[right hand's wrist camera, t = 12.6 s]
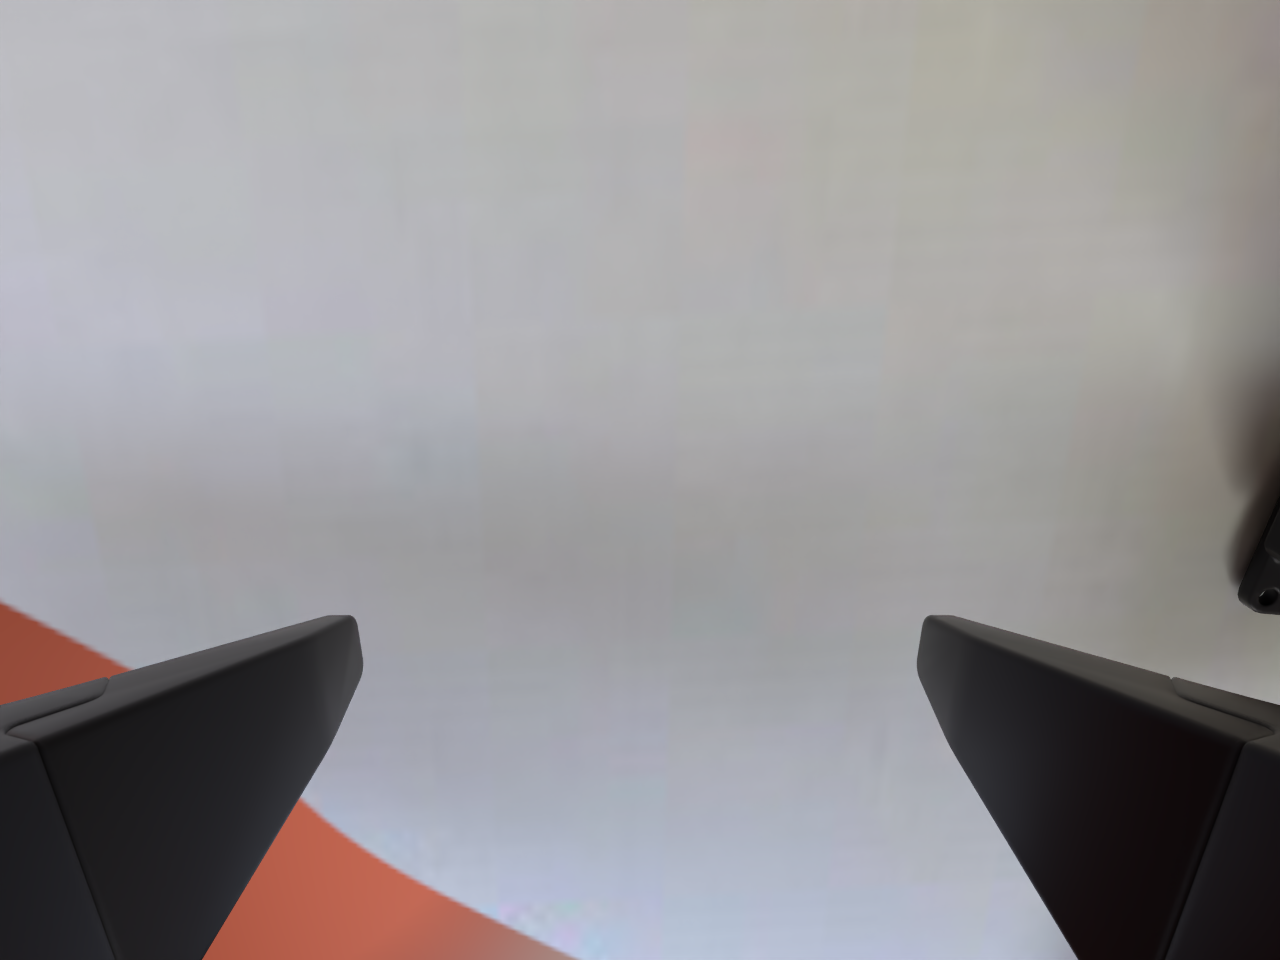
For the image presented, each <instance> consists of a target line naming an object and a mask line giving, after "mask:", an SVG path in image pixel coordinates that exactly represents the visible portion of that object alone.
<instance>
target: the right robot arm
mask: <svg viewBox="0 0 1280 960" xmlns="http://www.w3.org/2000/svg"><path fill="white" fill-rule="evenodd" d="M1264 591H1265V592H1264ZM1262 592H1264V594H1263V595H1261V593H1262ZM1260 595H1261V596H1260ZM1259 596H1260V597H1259ZM1238 598H1239V600H1240V601H1241V602H1242V603H1243V604H1244V605H1246V606H1247V607H1249V608H1250V609H1252V610H1253V611H1255V612H1258V613H1263V614H1275V615H1280V497H1279V499H1278V501H1277V504H1276V506H1275V508H1274V511H1273V513H1272V515H1271V517H1270V520H1269V522H1268V524H1267V526H1266V529H1265V531H1264V533H1263V535H1262V538H1261V540H1260V542H1259V544H1258V547H1257V549H1256V551H1255V553H1254V556H1253V558H1252V560H1251V563H1250V565H1249V567H1248V569H1247V572H1246V574H1245V576H1244V578H1243V581H1242V583H1241V585H1240V587H1239V591H1238ZM362 671H363V657H362V651H361V644H360V638H359V632H358V626H357V622H356V620H355V618H354V617H353V616H350V615H329V616H324V617H320V618H317V619H313V620H310V621H306V622H303V623H299V624H296V625H292V626H288V627H285V628H281V629H278V630H274V631H271V632H267V633H263V634H260V635H256V636H253V637H249V638H246V639H242V640H239V641H235V642H231V643H228V644H224V645H221V646H217V647H214V648H210V649H207V650H203V651H199V652H196V653H192V654H189V655H185V656H182V657H178V658H174V659H171V660H167V661H164V662H160V663H157V664H153V665H150V666H146V667H142V668H139V669H135V670H132V671H128V672H125V673H121V674H118V675H114V676H111V677H110V679H108V678H106V677H104V678H100V679H96V680H93V681H89V682H85V683H82V684H79V685H75V686H71V687H67V688H64V689H60V690H56V691H52V692H49V693H45V694H41V695H38V696H34V697H30V698H26V699H23V700H19V701H15V702H11V703H7V704H3V705H0V960H202V959H203V957H204V955H205V954H206V952H207V950H208V949H209V947H210V945H211V944H212V942H213V940H214V939H215V937H216V935H217V934H218V932H219V930H220V929H221V927H222V925H223V924H224V922H225V920H226V919H227V917H228V915H229V914H230V912H231V911H232V909H233V907H234V906H235V904H236V902H237V901H238V899H239V897H240V895H241V894H242V892H243V891H244V889H245V887H246V886H247V884H248V882H249V881H250V879H251V877H252V876H253V874H254V872H255V871H256V869H257V867H258V866H259V864H260V862H261V861H262V859H263V857H264V856H265V854H266V852H267V851H268V849H269V847H270V846H271V844H272V842H273V841H274V839H275V838H276V836H277V834H278V832H279V831H280V829H281V827H282V826H283V824H284V823H285V821H286V819H287V817H288V816H289V814H290V813H291V811H292V809H293V808H294V806H295V804H296V803H297V801H298V799H299V798H300V796H301V794H302V793H303V791H304V789H305V788H306V786H307V784H308V783H309V781H310V779H311V778H312V776H313V774H314V773H315V771H316V769H317V768H318V766H319V765H320V763H321V761H322V760H323V758H324V756H325V754H326V753H327V751H328V749H329V747H330V745H331V743H332V741H333V739H334V737H335V735H336V733H337V731H338V728H339V726H340V724H341V722H342V719H343V717H344V715H345V713H346V710H347V708H348V706H349V704H350V701H351V699H352V697H353V694H354V692H355V690H356V688H357V685H358V683H359V681H360V678H361V675H362ZM917 671H918V675H919V678H920V681H921V683H922V685H923V688H924V690H925V692H926V694H927V697H928V699H929V701H930V704H931V706H932V708H933V710H934V713H935V715H936V717H937V719H938V722H939V724H940V726H941V728H942V731H943V733H944V735H945V737H946V739H947V741H948V743H949V745H950V747H951V749H952V751H953V753H954V754H955V756H956V758H957V760H958V761H959V763H960V765H961V766H962V768H963V769H964V771H965V773H966V774H967V776H968V778H969V779H970V781H971V783H972V784H973V786H974V788H975V789H976V791H977V793H978V794H979V796H980V798H981V799H982V801H983V803H984V804H985V806H986V808H987V809H988V811H989V813H990V814H991V816H992V818H993V819H994V821H995V823H996V824H997V826H998V828H999V829H1000V831H1001V833H1002V834H1003V836H1004V838H1005V839H1006V841H1007V842H1008V844H1009V846H1010V847H1011V849H1012V851H1013V852H1014V854H1015V856H1016V857H1017V859H1018V861H1019V862H1020V864H1021V866H1022V867H1023V869H1024V871H1025V872H1026V874H1027V876H1028V877H1029V879H1030V881H1031V882H1032V884H1033V886H1034V887H1035V889H1036V891H1037V892H1038V894H1039V896H1040V897H1041V899H1042V901H1043V902H1044V904H1045V906H1046V907H1047V909H1048V911H1049V912H1050V914H1051V915H1052V917H1053V919H1054V920H1055V922H1056V924H1057V925H1058V927H1059V929H1060V930H1061V932H1062V934H1063V935H1064V937H1065V939H1066V940H1067V942H1068V944H1069V945H1070V947H1071V949H1072V950H1073V952H1074V954H1075V955H1076V957H1077V959H1078V960H1280V705H1277V704H1273V703H1269V702H1265V701H1261V700H1258V699H1254V698H1250V697H1246V696H1242V695H1239V694H1235V693H1231V692H1228V691H1224V690H1220V689H1216V688H1213V687H1209V686H1205V685H1202V684H1198V683H1195V682H1191V681H1187V680H1184V679H1180V678H1177V677H1174V678H1172V679H1170V677H1169V676H1166V675H1162V674H1159V673H1155V672H1152V671H1148V670H1145V669H1141V668H1138V667H1134V666H1130V665H1127V664H1123V663H1120V662H1116V661H1113V660H1109V659H1106V658H1102V657H1098V656H1095V655H1091V654H1088V653H1084V652H1081V651H1077V650H1073V649H1070V648H1066V647H1063V646H1059V645H1056V644H1052V643H1049V642H1045V641H1041V640H1038V639H1034V638H1031V637H1027V636H1024V635H1020V634H1016V633H1013V632H1009V631H1006V630H1002V629H999V628H995V627H992V626H988V625H984V624H981V623H977V622H974V621H970V620H967V619H963V618H960V617H956V616H951V615H930V616H927V617H926V618H925V620H924V622H923V626H922V632H921V638H920V644H919V650H918V657H917Z"/></svg>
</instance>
